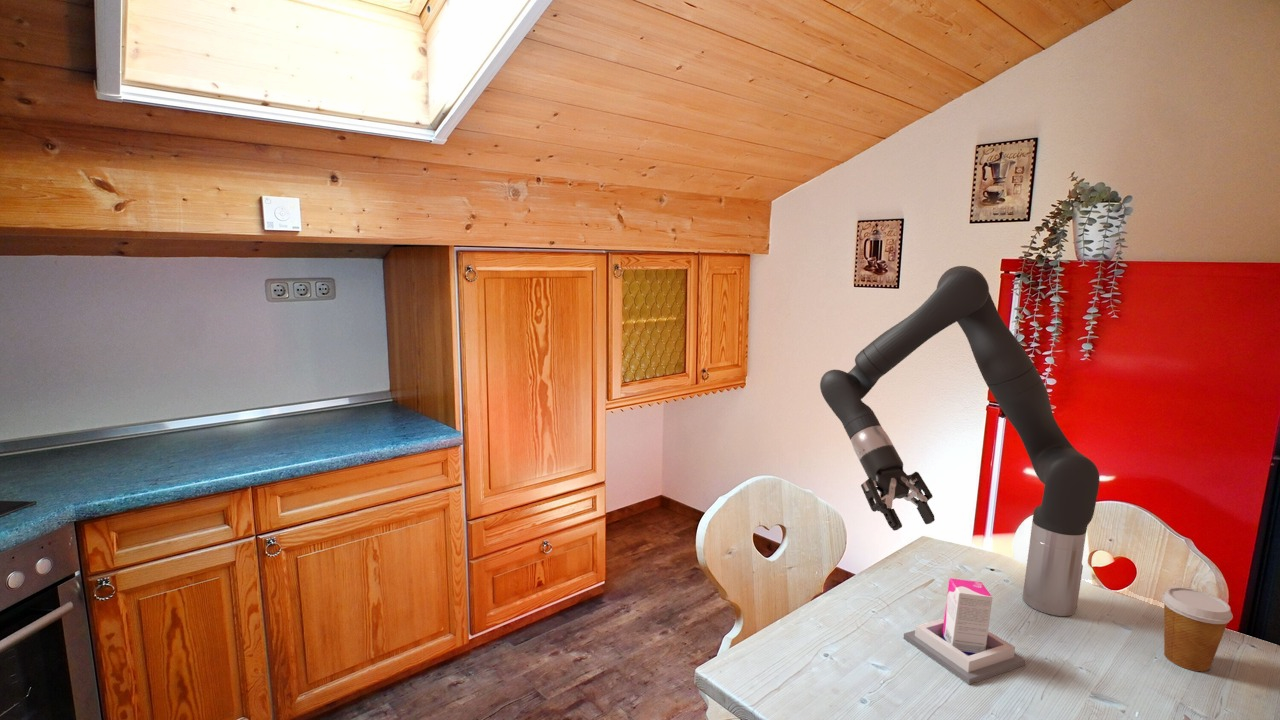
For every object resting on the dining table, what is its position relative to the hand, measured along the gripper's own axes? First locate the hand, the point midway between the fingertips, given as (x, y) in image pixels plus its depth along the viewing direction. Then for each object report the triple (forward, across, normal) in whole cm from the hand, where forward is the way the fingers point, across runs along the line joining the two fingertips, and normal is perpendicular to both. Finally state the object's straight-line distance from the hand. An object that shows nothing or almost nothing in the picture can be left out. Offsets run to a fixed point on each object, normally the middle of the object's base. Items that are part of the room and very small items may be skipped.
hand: (914, 525), depth 124 cm
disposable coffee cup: (+35, +36, -8) cm, 51 cm away
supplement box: (+22, 0, +3) cm, 22 cm away
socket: (+22, 0, +4) cm, 23 cm away
